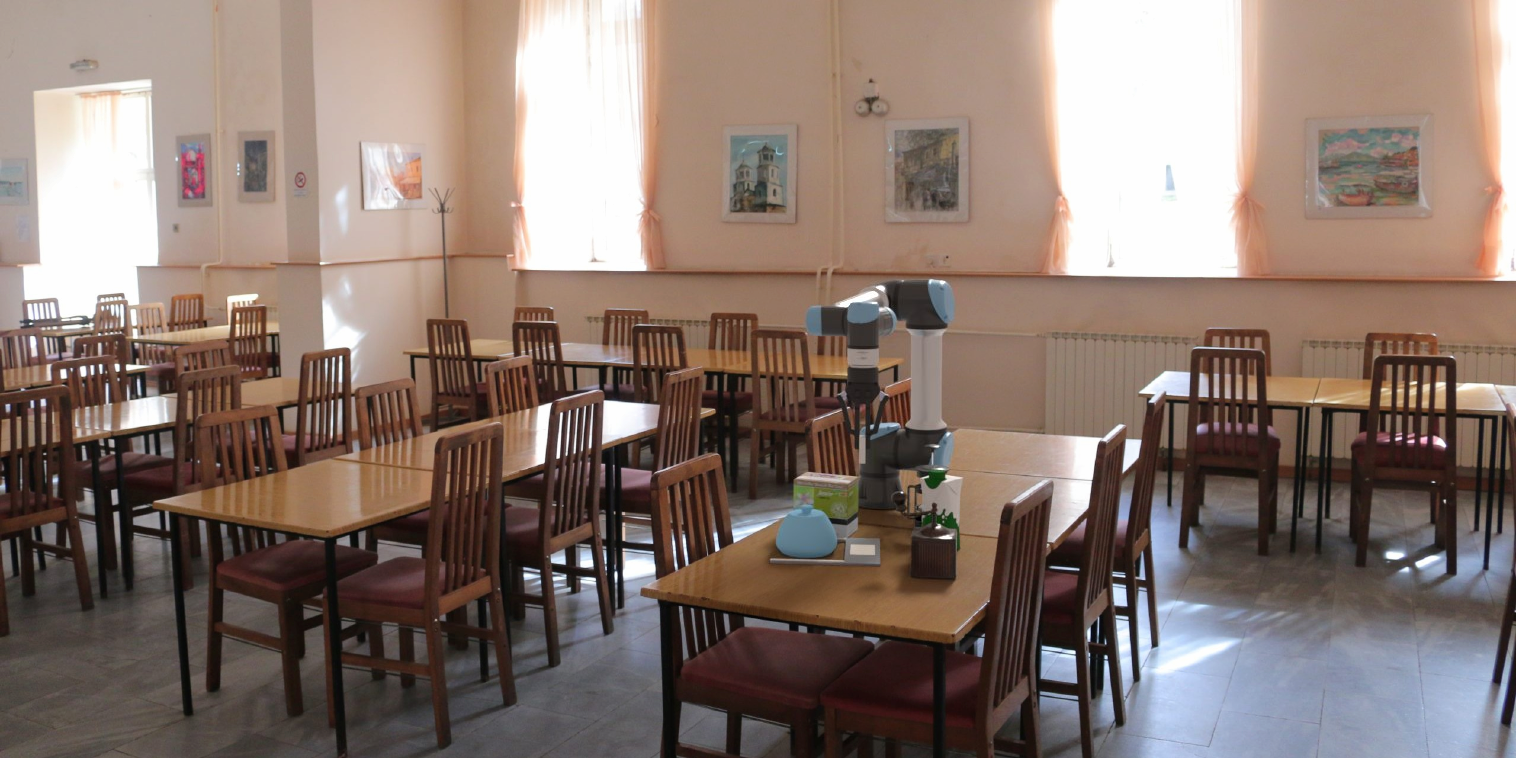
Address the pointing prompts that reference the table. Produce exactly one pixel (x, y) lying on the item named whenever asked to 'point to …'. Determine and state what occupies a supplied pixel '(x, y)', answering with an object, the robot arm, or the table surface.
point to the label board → (847, 554)
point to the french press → (921, 472)
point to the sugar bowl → (806, 534)
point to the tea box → (830, 499)
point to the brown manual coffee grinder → (930, 545)
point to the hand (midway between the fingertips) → (862, 462)
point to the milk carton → (942, 499)
